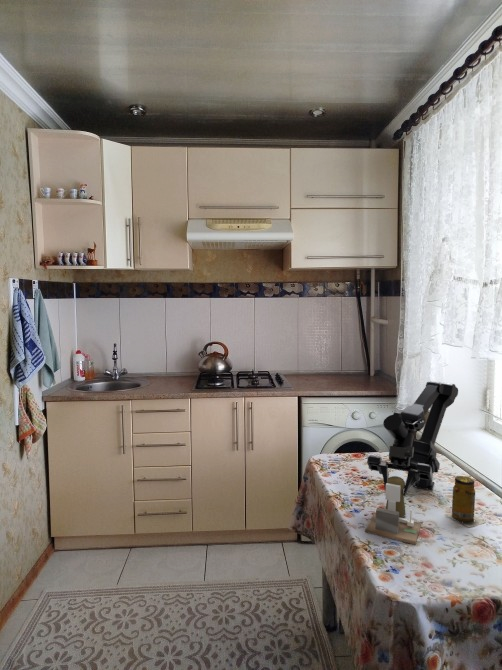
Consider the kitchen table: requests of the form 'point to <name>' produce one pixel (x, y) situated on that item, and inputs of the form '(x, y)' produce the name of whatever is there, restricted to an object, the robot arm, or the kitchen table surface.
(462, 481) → the condiment
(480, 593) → the kitchen table surface
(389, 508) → the block
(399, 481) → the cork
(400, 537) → the board
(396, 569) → the kitchen table surface
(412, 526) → the pointer
